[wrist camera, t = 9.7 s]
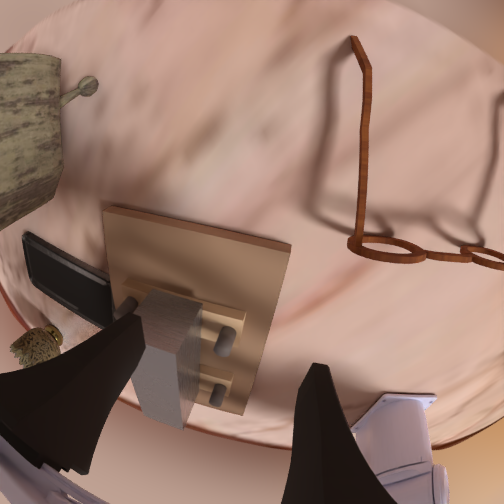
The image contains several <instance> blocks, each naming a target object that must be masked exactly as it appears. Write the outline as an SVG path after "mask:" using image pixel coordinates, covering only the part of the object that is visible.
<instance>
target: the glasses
mask: <svg viewBox="0 0 504 504" xmlns="http://www.w3.org/2000/svg"><path fill="white" fill-rule="evenodd" d="M351 44H352V49H353V51H354V53H355V56H356V58H357V60H358V63H359V65H360V68H361V70H362V73H363V103H362V114H361V123H360V154H359V181H358V198H357V212H356V223H355V233H354V236H351V237H349V238H348V241H347V247H348V249H349V250H350V251H352V252H353V253H355V254H357V255H360V256H362V257H365V258H369V259H373V260H377V261H383V262H389V263H402V264H412V263H419V262H422V261H424V260H425V259H426V258H428V259H433V260H438V261H448V262H461V263H469V262H474V263H476V264H479V265H482V266H485V267H489V268H492V269H497V270H502V271H504V263H502V262H496V261H492V260H488V259H485V258H482V257H479V256H477V255H475V254H473V253H472V252H478V253H483V254H487V255H491V256H494V257H496V258H499V259H501V260H503V261H504V254H502V253H500V252H497V251H494V250H491V249H488V248H484V247H478V246H470V245H462V246H461V248H460V253H461V254H454V253H443V252H434V251H428V250H423V249H422V248H420V247H419V246H417V245H415V244H413V243H410V242H408V241H404V240H401V239H396V238H391V237H383V236H371V235H363V231H364V221H365V209H366V196H367V179H368V148H369V122H370V113H371V103H372V66H371V64H370V62H369V60H368V58H367V55H366V53H365V51H364V49H363V47H362V45H361V43H360V41H359V39H358V37H357V36H351ZM362 243H384V244H390V245H395V246H399V247H402V248H404V249H407V250H409V251H410V252H412V253H410V254H397V253H388V252H381V251H376V250H372V249H369V248H366V247H364V246H362Z"/></svg>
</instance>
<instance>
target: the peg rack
mask: <svg viewBox="0 0 504 504" xmlns="http://www.w3.org/2000/svg"><path fill="white" fill-rule="evenodd" d="M102 212H103V225H104V236H105V246H106V254H107V262H108V269H109V275H110V282H111V288H112V293H113V299H114V304H115V309H116V311H115V312H114V317H115V318H116V320H118V319H119V318H121V317H122V316H124V315H125V314H127V313H128V312H130V313H134V311H135V310H136V309H137V308H138V306H139V305H140V304H141V303H142V301H143V300H144V299H145V298H146V296H147V295H148V294H149V293H150V291H151V290H152V289H156V290H159V291H162V292H165V293H169V294H172V295H175V296H179V297H182V298H186V299H189V300H193V301H196V302H200V303H203V311H202V329H201V351H200V382H199V392H198V395H197V397H196V400H195V402H194V403H198V404H201V405H204V406H207V407H211V408H214V409H218V410H222V411H225V412H229V413H233V414H237V415H241V416H243V413H244V410H245V407H246V404H247V401H248V398H249V395H250V392H251V389H252V386H253V383H254V379H255V376H256V373H257V370H258V366H259V363H260V360H261V357H262V353H263V350H264V347H265V343H266V340H267V337H268V333H269V330H270V326H271V323H272V319H273V316H274V312H275V309H276V305H277V302H278V298H279V294H280V291H281V287H282V283H283V280H284V276H285V272H286V269H287V265H288V261H289V257H290V253H291V245H289V244H285V243H280V242H276V241H272V240H267V239H263V238H259V237H254V236H250V235H246V234H241V233H237V232H232V231H228V230H223V229H219V228H214V227H210V226H205V225H201V224H196V223H191V222H187V221H182V220H177V219H173V218H168V217H163V216H159V215H154V214H149V213H144V212H140V211H135V210H130V209H125V208H120V207H115V206H110V207H109V208H107V209H105V210H103V211H102Z"/></svg>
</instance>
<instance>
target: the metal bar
mask: <svg viewBox="0 0 504 504" xmlns="http://www.w3.org/2000/svg"><path fill="white" fill-rule="evenodd" d="M202 311H203V303H200V302H196V301H193V300H189V299H186V298H182V297H179V296H175V295H172V294H169V293H165V292H162V291H159V290H156V289H152V290H151V291H150V293H149V294H148V295H147V296H146V298H145V299H144V300H143V301H142V303H141V304H140V305H139V306H138V308H137V309H136V310H135V311H134V313H133V314H136V315H138V316H141V320H142V326H143V333H144V339H145V345H146V349H145V351H144V353H143V355H142V358H141V360H140V362H139V364H138V366H137V368H136V369H135V371H134V373H133V374H132V376H131V380H132V383H133V386H134V389H135V392H136V395H137V398H138V401H139V403H140V406H141V409H142V411H143V414H144V415H145V416H147V417H149V418H152V419H154V420H157V421H159V422H162V423H165V424H167V425H170V426H173V427H176V428H178V429H181V430H184V428H185V425H186V423H187V420H188V418H189V415H190V413H191V410H192V408H193V405H194V402H195V400H196V397H197V395H198V392H199V382H200V351H201V329H202Z"/></svg>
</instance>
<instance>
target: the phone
mask: <svg viewBox="0 0 504 504" xmlns="http://www.w3.org/2000/svg"><path fill="white" fill-rule="evenodd" d="M22 243H23V249H24V255H25V260H26V265H27V270H28V274H29V278H30V280H31V282H32V284H33V285H34V286H35V287H36V288H38V289H39V290H41V291H42V292H43V293H45V294H46V295H48V296H49V297H51V298H52V299H54V300H55V301H57V302H58V303H60V304H61V305H63V306H64V307H66V308H67V309H69V310H70V311H72V312H74V313H75V314H77V315H78V316H80V317H82V318H83V319H85V320H87V321H88V322H90V323H92V324H94V325H95V326H97V327H99V328H101V329H102V330H103V329H104V328H106V327H107V326H109V325H110V324H112V323H113V322H115V321H116V318H115V317H114V312H115V311H116V309H115V304H114V299H113V293H112V288H111V282H110V275H108V274H106V273H104V272H102V271H100V270H98V269H96V268H94V267H92V266H90V265H88V264H86V263H84V262H82V261H80V260H79V259H77V258H75V257H73V256H71V255H69V254H68V253H66V252H64V251H62V250H60V249H59V248H57V247H55V246H53V245H51V244H50V243H48V242H46V241H45V240H43V239H41V238H39V237H38V236H36V235H34V234H33V233H31V232H29V231H28V232H26V233H25V234H23V235H22Z"/></svg>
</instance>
